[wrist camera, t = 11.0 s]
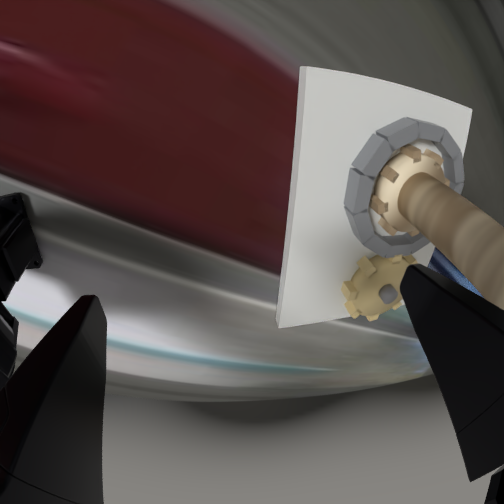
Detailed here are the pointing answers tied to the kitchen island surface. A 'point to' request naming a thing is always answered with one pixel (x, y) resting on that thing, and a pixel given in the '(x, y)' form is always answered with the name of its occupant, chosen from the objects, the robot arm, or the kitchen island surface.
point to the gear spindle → (440, 218)
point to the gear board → (356, 192)
